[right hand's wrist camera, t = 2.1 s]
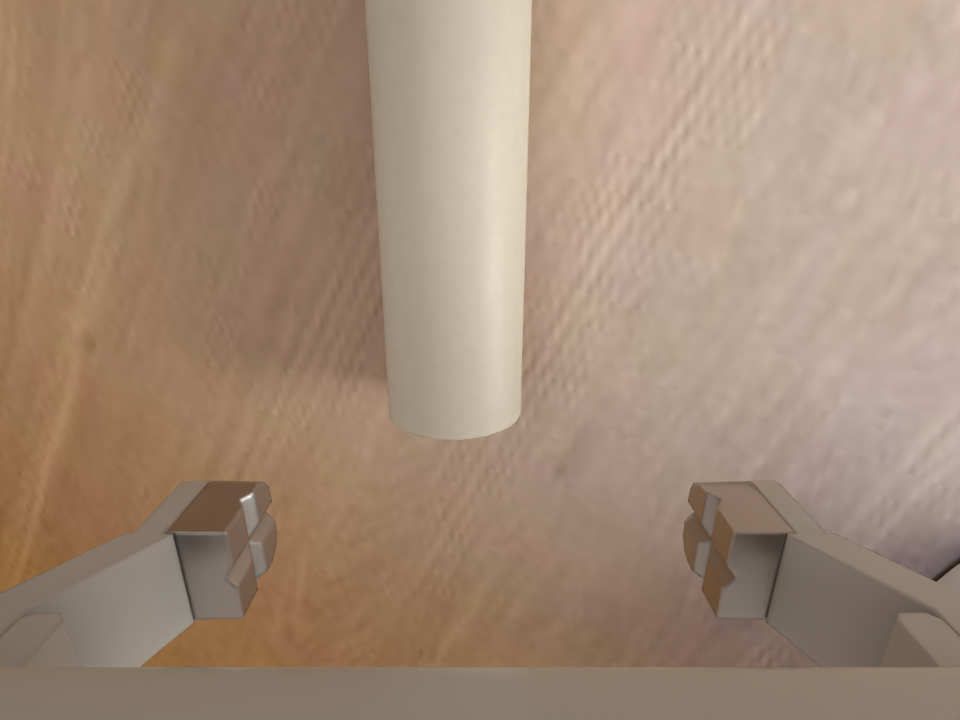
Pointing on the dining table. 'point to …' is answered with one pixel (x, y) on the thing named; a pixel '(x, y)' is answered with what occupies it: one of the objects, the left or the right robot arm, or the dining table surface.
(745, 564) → the right robot arm
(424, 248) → the rod
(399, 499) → the dining table surface
